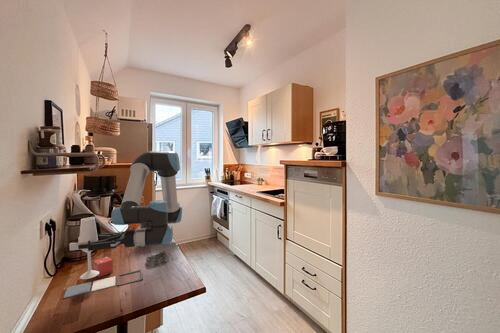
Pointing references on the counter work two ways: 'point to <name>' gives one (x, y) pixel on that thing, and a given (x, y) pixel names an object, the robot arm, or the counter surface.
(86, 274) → the champagne flute
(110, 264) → the red die
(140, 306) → the counter surface
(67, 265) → the counter surface
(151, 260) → the egg carton
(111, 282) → the game track
